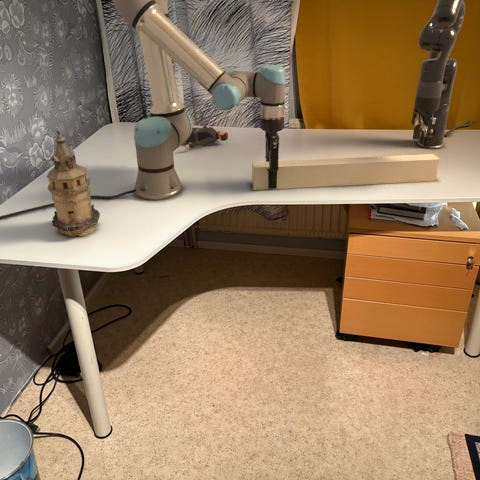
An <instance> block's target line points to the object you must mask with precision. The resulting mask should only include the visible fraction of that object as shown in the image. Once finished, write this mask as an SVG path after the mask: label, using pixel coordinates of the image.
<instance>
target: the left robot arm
mask: <svg viewBox="0 0 480 480" xmlns="http://www.w3.org/2000/svg"><path fill="white" fill-rule="evenodd" d="M171 1H172V0H112V2H113V5H114V7H115V10H116V11H117V13H118V14H119V16H120V17H121V18H122V19H123V20H124V21H125V22H126V23H127V24H128V25H129V26H130V27H131V28H132V29H134V30H135V31H136V32H137V33H138V35H139V39H140V43H141V44H140V45H141V48H142V49H141V51H142V54H143V61H144V65H145V71H146V75H147V81H148V85H149V86H148V87H149V91H150V96H151V101H152V106H151V107H150V109H149V115H150V116H148V117H147V118H142V119H140V120H138V121H137V123H135V125H134V127H133V133H134V134H133V139H134V144H135V154H136V161H137V175H136V179H135V184H134V189H131V190H128V191H124V192H121V193H119V194H115V195H90V197H91V199H103V200H111V199H118V198H121V197H123V196H126V195H129V194H132V193H135V195H136V196H137V197H138V198H141V199H143V200H148V201H161V200H168V199H171V198H174V197H176V196H178V195H179V194H180V193H181V192H182V183H181V180H180V177H179V176H178V173H177V171H176V169H175V161H174V160H175V159H174V158H175V157H174V151H176V150H177V149H178V148H180V146H182V145H184V144H185V143H187V142H186V140H187V139H188V138H189V136H190V134H191V132H192V128H193V122H192V119H191V117H190V115H189V114H188V113H187V111H186V108H185V105H184V104H183V103H182V102H180V101H179V100H180V99H179V95H178V89H177V83H176V77H175V71H174V66H173V61H174V62H175V63H176V64H177V65H178V66H179V67H180V68H182V69H183V70H184V71H185V72H186V73H187V74H188V75H189V76H190V77H191V78H192V79H194V81H196V82H197V84H199V85H200V86H201V87H202V88H203V89H204V90H205V91H207V92H208V93H209V94H210V95H211V100H212V103H213V105H214V106H215V107H216V109H219V110H221V111H230V110H232V109H234V108H235V107H237V106H238V105H239V104H240V103H241V102H242V100H243V101H244V100H245V98H260V106H259V107H260V108H259V110H260V111H259V112H260V114H259V115H260V119H259V120H260V123H259V124H260V125H259V126H260V127H259V128H260V130H262V131H263V132H264V139H265V154H264V155H265V156H264V158H265V162H269V169H267V171H269V174H268V188H269V189H268V190H276V189H275V188H277V171H278V161H279V149H280V142H279V141H280V136H279V133H278V132H281V131H283V130H284V128H285V117H284V116H285V109H287V106H286V105H285V102H286V101H285V98H286V82H287V81H286V69H285V67H284V66H282V65H279V64H266V65H262V66H261V68H260V71H243V70H242V71H241V70H226V71H224V69H222V67H220V65H218V64H217V63H216V62H215V61H214V60H213V59H212V58H211V57H210V56H209V55H208V54H207V53H205V52H204V51H203V50H202V49H201V48H200V47H199V46H198V45H197V44H196V43H195V42H193V41H192V40H191V38H190V37H188V36H187V35H186V34H185V33H184V32H183V31H182V30H181V29H180V28H178V27H177V26H176V25H175V24H174V23H173V22H172V21H171V20H170V13H169V6H170V3H171ZM50 207H55V205H54V202H52V203H47V204H43V205H39V206H35V207H31V208H27V209H24V210H19V211H15V212H11V213H6V214H3V215H0V220H2V219H5V218H10V217H13V216H18V215H21V214H26V213H29V212H34V211H37V210H40V209H41V210H42V209H46V208H50Z"/></svg>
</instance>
